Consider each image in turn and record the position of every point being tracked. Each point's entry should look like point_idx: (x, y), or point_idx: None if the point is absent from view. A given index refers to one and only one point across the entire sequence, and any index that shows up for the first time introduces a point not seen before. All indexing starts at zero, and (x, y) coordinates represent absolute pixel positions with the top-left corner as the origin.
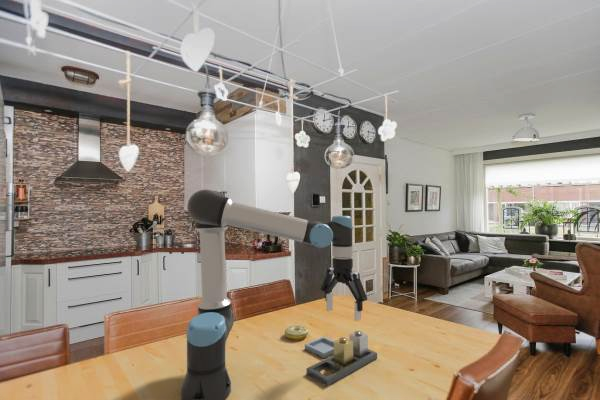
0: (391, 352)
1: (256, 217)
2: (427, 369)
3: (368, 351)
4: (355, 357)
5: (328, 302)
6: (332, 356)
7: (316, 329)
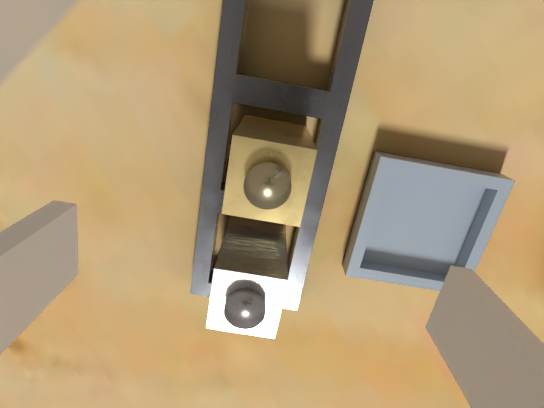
0: (177, 345)
1: None
2: None
3: None
4: None
5: (502, 341)
6: (331, 155)
7: None
